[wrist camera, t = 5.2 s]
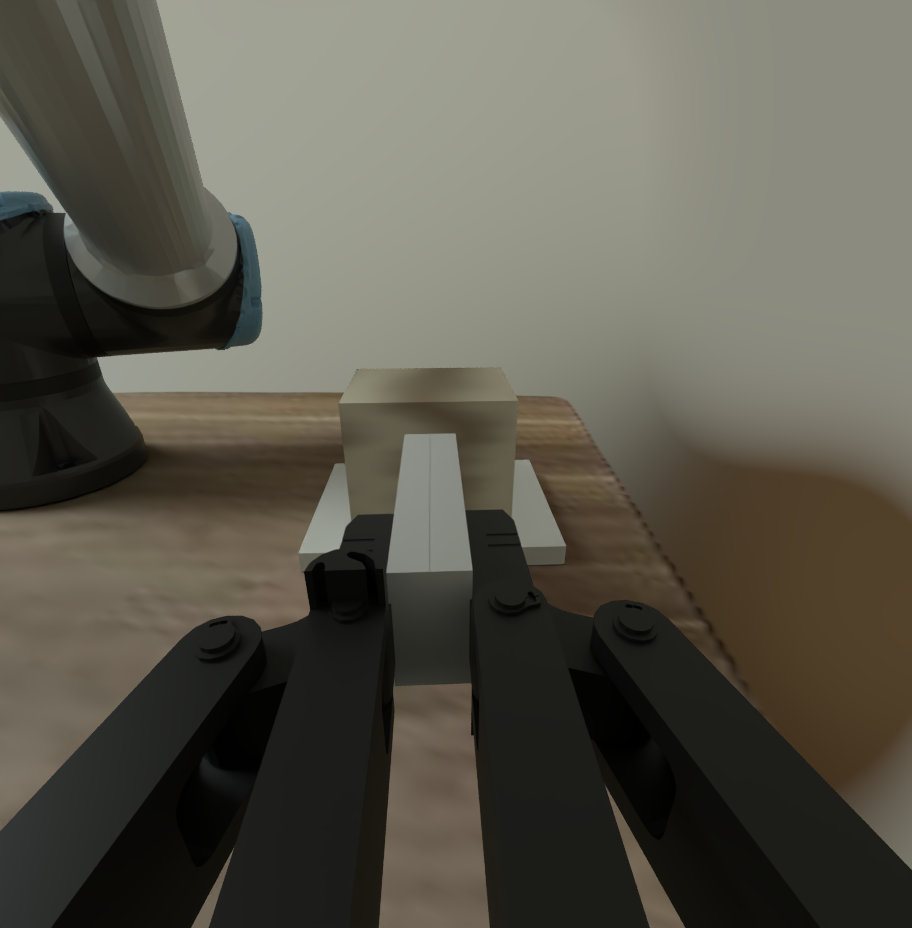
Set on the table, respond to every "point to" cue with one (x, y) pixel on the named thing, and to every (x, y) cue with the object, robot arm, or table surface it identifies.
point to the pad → (527, 512)
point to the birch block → (429, 432)
